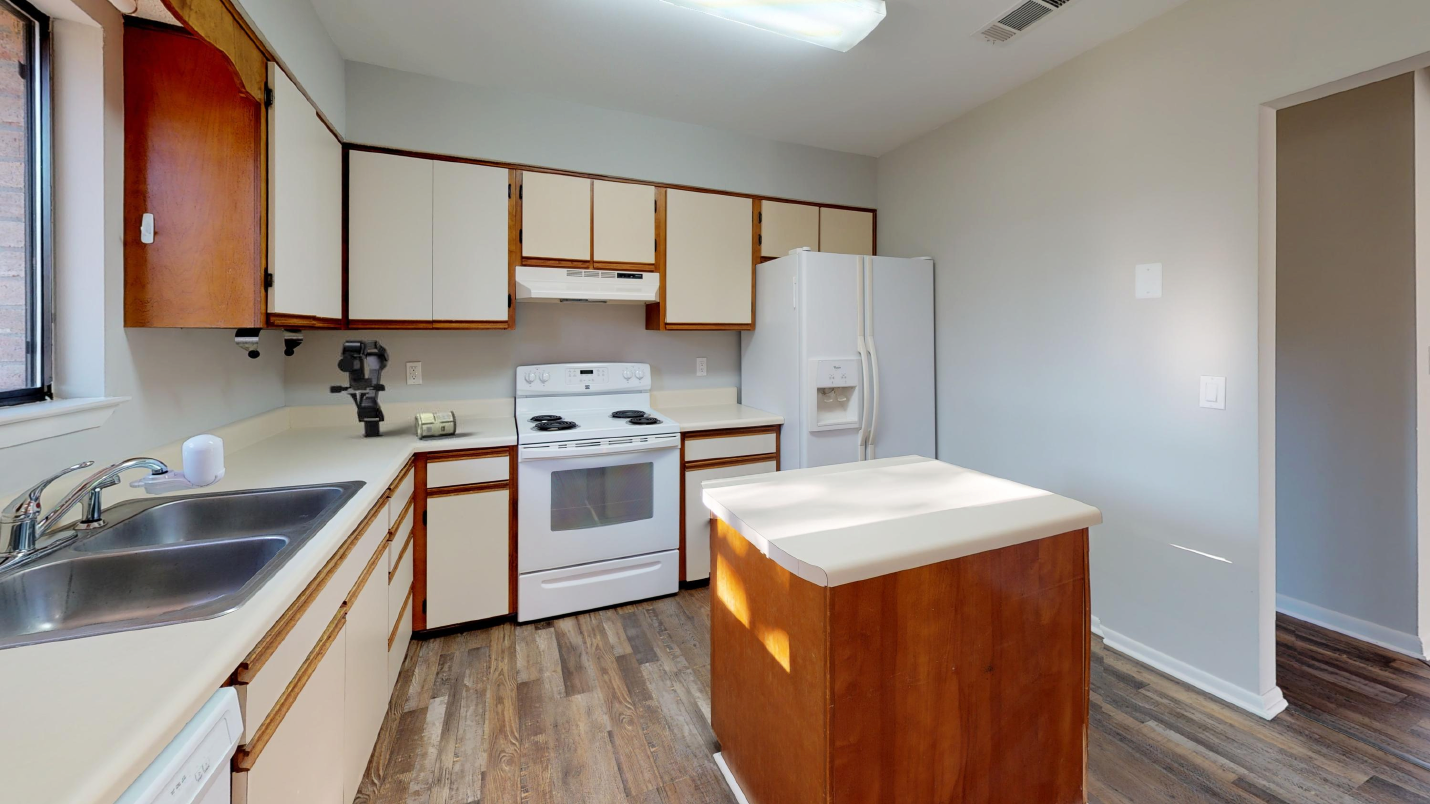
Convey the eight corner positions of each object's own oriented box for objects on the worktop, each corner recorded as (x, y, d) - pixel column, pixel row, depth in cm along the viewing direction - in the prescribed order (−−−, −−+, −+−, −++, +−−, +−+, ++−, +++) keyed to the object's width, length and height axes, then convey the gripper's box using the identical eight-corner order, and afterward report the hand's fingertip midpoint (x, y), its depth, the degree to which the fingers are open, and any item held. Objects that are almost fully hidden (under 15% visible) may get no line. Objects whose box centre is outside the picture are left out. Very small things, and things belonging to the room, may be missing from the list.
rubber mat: (412, 434, 246) (412, 432, 246) (447, 431, 255) (447, 429, 255) (423, 440, 231) (423, 438, 231) (459, 437, 240) (459, 435, 240)
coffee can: (413, 424, 239) (449, 421, 247) (418, 443, 234) (454, 439, 242) (416, 408, 232) (452, 406, 241) (420, 427, 227) (457, 424, 236)
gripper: (331, 372, 214) (333, 413, 215) (386, 371, 226) (388, 409, 227) (327, 371, 222) (330, 410, 224) (381, 370, 234) (383, 407, 236)
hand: (358, 409), depth 227 cm, fingers closed
